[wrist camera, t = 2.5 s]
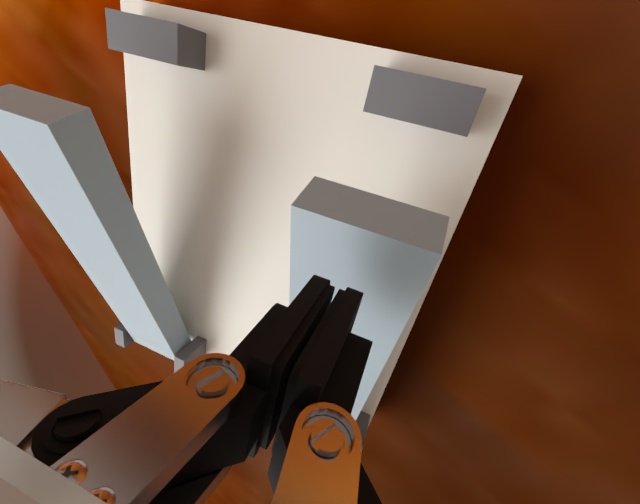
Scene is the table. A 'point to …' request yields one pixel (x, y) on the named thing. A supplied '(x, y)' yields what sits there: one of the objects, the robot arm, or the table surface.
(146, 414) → the robot arm
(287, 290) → the board
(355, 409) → the lever
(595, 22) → the table surface
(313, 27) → the table surface
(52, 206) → the lever
